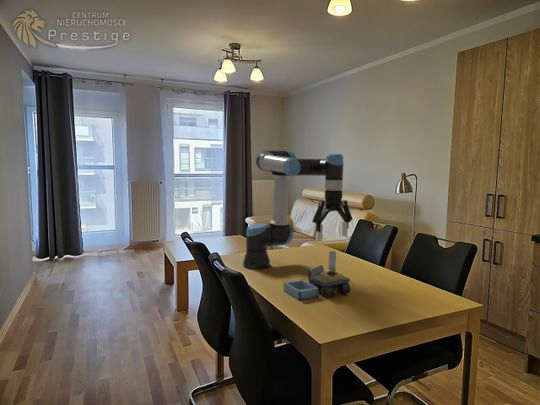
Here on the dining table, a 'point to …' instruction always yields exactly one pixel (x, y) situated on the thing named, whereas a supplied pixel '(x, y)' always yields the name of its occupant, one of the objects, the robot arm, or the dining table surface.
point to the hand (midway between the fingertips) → (332, 237)
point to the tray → (301, 290)
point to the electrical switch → (315, 272)
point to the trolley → (331, 283)
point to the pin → (332, 263)
